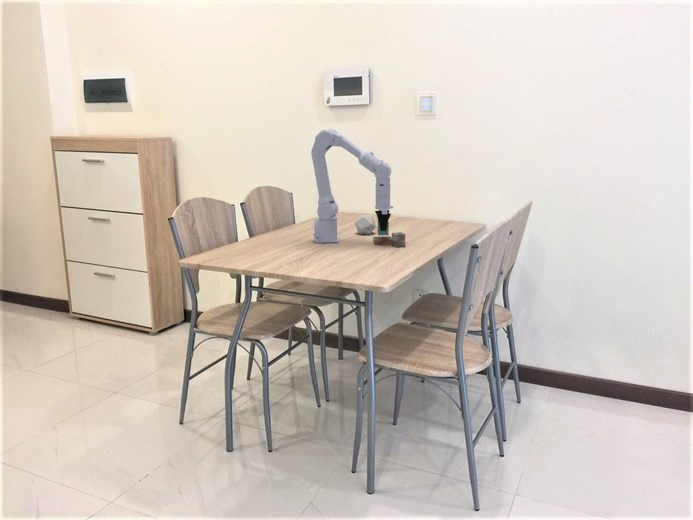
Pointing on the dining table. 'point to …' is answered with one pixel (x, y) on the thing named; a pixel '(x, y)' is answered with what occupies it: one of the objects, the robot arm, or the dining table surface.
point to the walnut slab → (382, 240)
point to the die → (365, 224)
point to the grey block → (398, 239)
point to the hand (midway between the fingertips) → (382, 229)
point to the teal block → (383, 231)
